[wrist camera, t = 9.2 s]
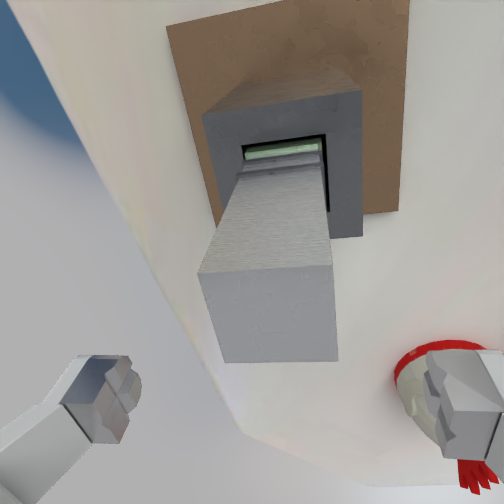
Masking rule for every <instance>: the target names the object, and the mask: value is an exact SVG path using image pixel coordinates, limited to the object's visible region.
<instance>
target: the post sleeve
mask: <svg viewBox="0 0 504 504" xmlns="http://www.w3.org/2000/svg"><path fill="white" fill-rule="evenodd" d="M409 4H410V0H283V1H279V2H274V3H270V4H265V5H261V6H256V7H252V8H247V9H242V10H238V11H233V12H229V13H224V14H220V15H215V16H211V17H206V18H202V19H197V20H192V21H188V22H183V23H179V24H174V25H170V26H166V30H167V34H168V38H169V42H170V46H171V50H172V53H173V57H174V61H175V65H176V69H177V73H178V77H179V81H180V85H181V89H182V93H183V97H184V101H185V105H186V109H187V113H188V117H189V121H190V125H191V129H192V133H193V137H194V141H195V145H196V149H197V153H198V157H199V161H200V165H201V168H202V172H203V176H204V180H205V184H206V188H207V192H208V196H209V200H210V204H211V208H212V212H213V216H214V220H215V224H216V228H217V227H218V225H219V223H220V221H221V218H222V216H223V214H224V211H225V209H226V207H227V205H228V202H229V200H230V198H231V195H232V193H233V191H234V189H235V186H236V184H237V181H236V174H237V172H242V170H243V168H242V161H243V160H246V157H245V152H246V150H247V148H248V147H253V145H254V143H261V142H268V141H275V140H282V139H289V138H296V137H303V136H310V135H317V138H320V137H321V144H322V159H323V163H324V176H325V192H326V208H327V223H328V231H329V239H336V238H348V237H360V236H363V214H371V213H382V212H393V211H398V204H399V186H400V168H401V150H402V131H403V113H404V95H405V77H406V58H407V40H408V22H409Z"/></svg>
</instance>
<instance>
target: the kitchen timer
mask: <svg viewBox="0 0 504 504" xmlns="http://www.w3.org/2000/svg"><path fill="white" fill-rule="evenodd" d="M442 350H487V349H486V348H484V347H482V346H480V345H478V344H475V343H471V342H467V341H462V340H444V341H437V342H431V343H428V344H425V345H422V346H419V347H417V348H415V349H414V350H412V351H410V352H409V353H407V354H406V355H405V356H404V357H403V358H402V359H401V360H400V361H399V362H398V364H397V366H396V368H395V370H394V380H395V384H396V387H397V390H398V393H399V395H400V397H401V399H402V401H403V403H404V406H405V410H406V412H407V414H408V415H409V416H410V417H411V416H412V418H413V419H414V421H415V422H416V424H417V425H418V426H419V428H420V429H421V430H422V431H423V432H424V433H425V434H426V435H427V436H428V437H429V438H430V439H431V440H433V441H434V442H435V443H436V444H437V445H438V446H440V445H439V442H438V439H437V436H436V433H435V430H434V429H435V423H436V418H435V417H434V416H433V415H432V414H430V413H429V411H428V408H427V404H426V401H425V396H424V389H423V376H424V373H425V372H426V371H427V370H428V367H427V364H426V362H425V360H426V354H427V352H428V351H442ZM457 461H458V474H459V482H460V487H462V488H466V489H468V485H469V488H470V490H471V492H472V493H474V494H478V495H480V490H479V484H478V482H479V483H480V485H481V486H482V487H483V488H486V489H490V485H489V482H488V479H489V481H490V482H493V483H497V484H499V481H498V478H497V475H496V474H495V473H494V472H493V471H492V470H491V469H490V468H489V467H488V466H487V465H486V464H485V461H478V460H464V459H457Z"/></svg>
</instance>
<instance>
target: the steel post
mask: <svg viewBox="0 0 504 504" xmlns="http://www.w3.org/2000/svg"><path fill="white" fill-rule="evenodd" d="M245 157H246V160H243V161H242V168H243V170H242V172H237V174H236V181H237V184H236V186H235V189H234V191H233V193H232V195H231V198H230V200H229V202H228V205H227V207H226V209H225V211H224V214H223V216H222V218H221V221H220V223H219V225H218V227H217V230H216V232H215V234H214V236H213V239H212V241H211V243H210V246H209V248H208V250H207V252H206V255H205V257H204V259H203V261H202V264H201V266H200V268H199V271H198V273H197V274H198V278H199V281H200V284H201V287H202V291H203V294H204V297H205V300H206V304H207V307H208V310H209V313H210V317H211V320H212V323H213V326H214V329H215V333H216V336H217V339H218V342H219V346H220V349H221V352H222V355H223V359H224V362H225V363H260V362H332V361H338V346H337V329H336V312H335V295H334V278H333V263H332V255H331V247H330V239H329V231H328V223H327V208H326V192H325V176H324V163H323V159H322V144H321V137H320V138H317V135H310V136H303V137H296V138H289V139H282V140H275V141H268V142H261V143H254V145H253V147H248V148H247V150H246V152H245Z"/></svg>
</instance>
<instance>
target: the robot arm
mask: <svg viewBox="0 0 504 504" xmlns="http://www.w3.org/2000/svg"><path fill="white" fill-rule="evenodd" d="M425 362H426V364H427V367H428V370H427V371H426V372H425V373H424V376H423V389H424V396H425V401H426V404H427V408H428V411H429V413H430V414H432V415H433V416H434V417H435V418H436V423H435V429H434V430H435V433H436V436H437V439H438V442H439V445H440V448H441V451H442V454H443V458H450V459H464V460H478V461H485V464H486V465H487V466H488V467H489V468H490V469H491V470H492V471H493V472H494V473H495V474H496V475H497V477H498V478H499V479H500V480H501V481H502V482H503V483H504V355H503V353H501V352H500V351H499V350H442V351H428V352H427V354H426V360H425ZM131 366H132V362H131V360H130V359H129V357H128V356H121V355H120V356H119V355H79V356H77V357H76V358H74V359H73V360H72V361H71V363H70V364H69V366H68V367H67V369H66V370H65V371H64V373H63V374H62V376H61V377H60V378H59V380H58V381H57V383H56V384H55V386H54V387H53V388H52V390H51V391H50V392H49V394H48V395H47V397H46V398H45V399H44V401H43V402H42V404H36V405H35V406H33V407H32V408H30V409H29V410H28V411H26V412H25V413H23V414H22V415H21V416H19V417H18V418H16V419H15V420H14V421H12V422H11V423H9V424H8V425H7V426H5V427H4V428H2V429H1V430H0V504H36V502H37V501H39V500H40V498H42V496H43V495H44V494H45V493H46V492H47V491H48V490H49V489H50V488H51V487H52V486H53V485H54V484H55V483H56V482H57V481H58V480H59V479H60V478H61V477H62V476H63V475H64V474H65V473H66V472H67V471H68V470H69V469H70V467H72V466H73V464H74V463H75V462H76V461H77V460H78V459H79V458H80V457H81V456H82V455H83V454H84V453H85V452H86V451H87V450H88V449H89V448H90V447H91V446H92V443H109V444H119V443H120V441H121V439H122V437H123V434H124V432H125V430H126V428H127V426H128V424H129V421H130V420H129V415H128V413H129V412H130V411H131V410H133V409H134V408H135V407H136V406H137V403H138V401H139V399H140V395H141V387H142V385H141V379H140V377H139V375H138V373H136V372H135V371H133V370H132V369H130V368H131Z"/></svg>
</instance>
